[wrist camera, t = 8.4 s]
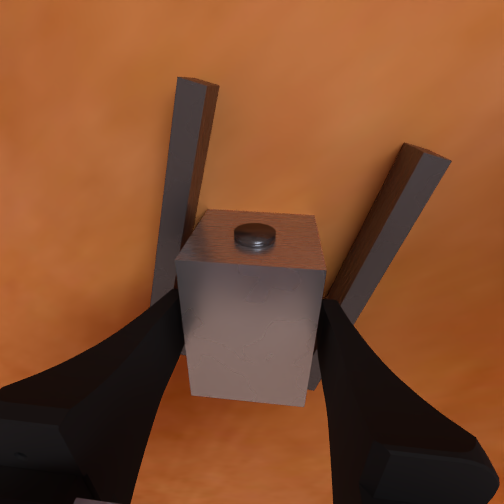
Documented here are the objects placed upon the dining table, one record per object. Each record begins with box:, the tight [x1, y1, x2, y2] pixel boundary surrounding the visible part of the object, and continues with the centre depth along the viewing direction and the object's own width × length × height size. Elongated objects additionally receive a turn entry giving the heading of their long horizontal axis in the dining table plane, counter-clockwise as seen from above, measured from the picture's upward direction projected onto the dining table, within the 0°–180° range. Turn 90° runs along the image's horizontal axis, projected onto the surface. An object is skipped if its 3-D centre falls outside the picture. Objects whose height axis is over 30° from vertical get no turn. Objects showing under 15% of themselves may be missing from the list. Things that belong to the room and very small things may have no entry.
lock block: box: [175, 209, 327, 407], centre depth 14 cm, size 5×7×5 cm
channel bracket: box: [150, 77, 451, 391], centre depth 14 cm, size 10×13×2 cm
